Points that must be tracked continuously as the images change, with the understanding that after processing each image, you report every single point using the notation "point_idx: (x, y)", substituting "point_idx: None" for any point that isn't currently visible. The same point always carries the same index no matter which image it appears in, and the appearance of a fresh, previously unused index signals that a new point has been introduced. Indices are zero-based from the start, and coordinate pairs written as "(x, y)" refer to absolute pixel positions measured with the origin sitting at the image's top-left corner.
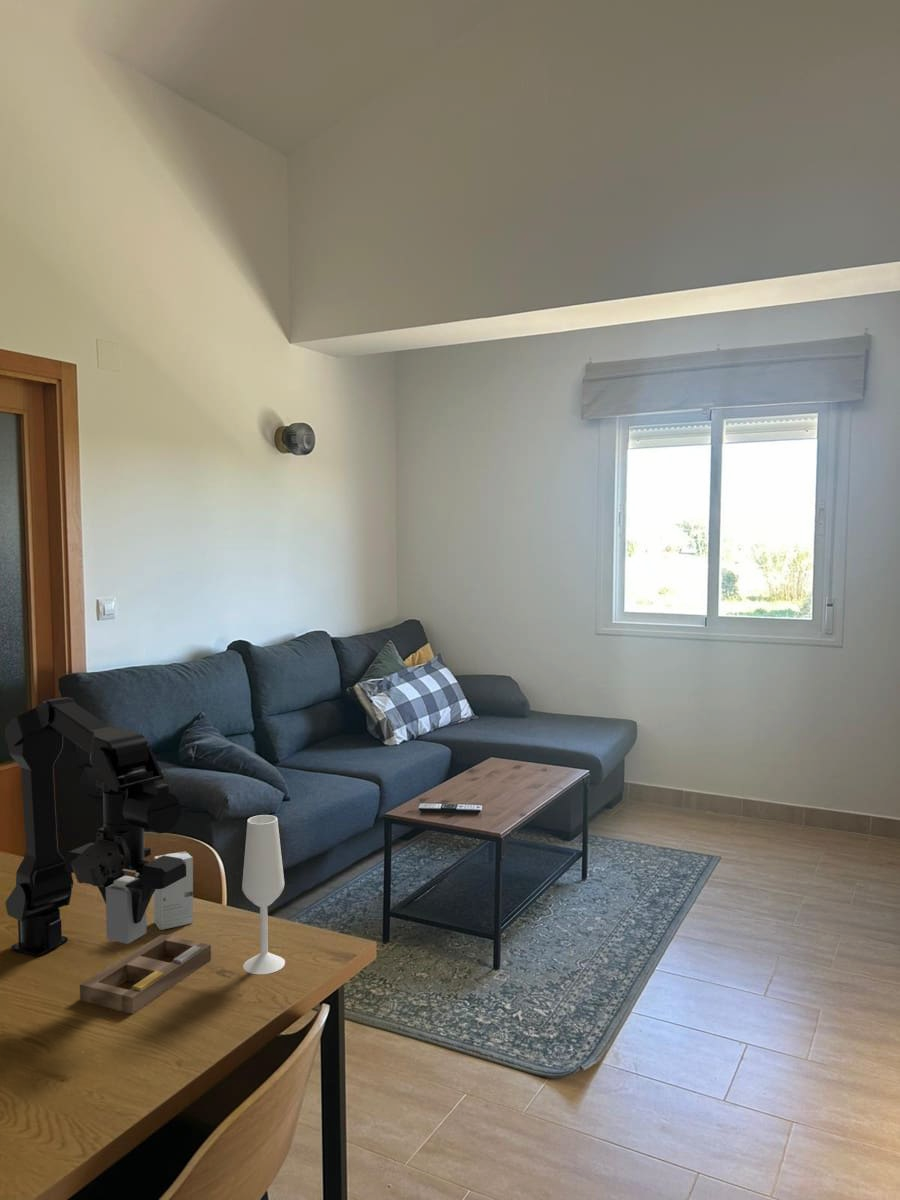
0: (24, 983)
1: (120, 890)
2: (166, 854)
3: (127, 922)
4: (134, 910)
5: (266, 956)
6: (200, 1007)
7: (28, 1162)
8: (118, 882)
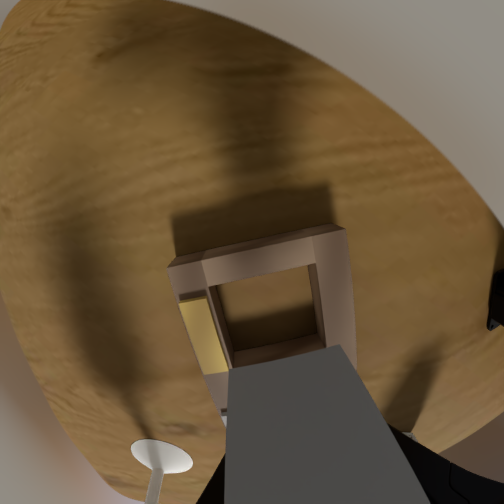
0: (462, 204)
1: None
2: None
3: (227, 439)
4: (214, 501)
5: (149, 466)
6: (104, 343)
7: (33, 3)
8: None
